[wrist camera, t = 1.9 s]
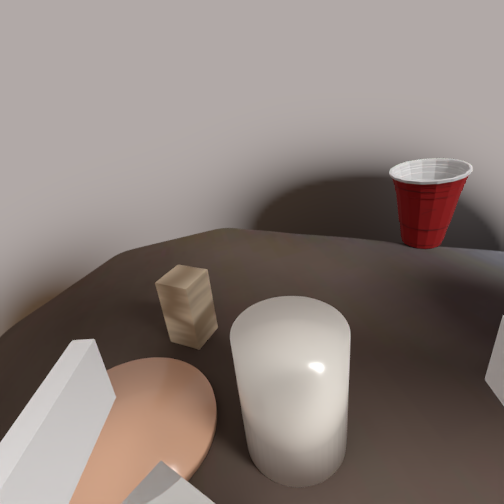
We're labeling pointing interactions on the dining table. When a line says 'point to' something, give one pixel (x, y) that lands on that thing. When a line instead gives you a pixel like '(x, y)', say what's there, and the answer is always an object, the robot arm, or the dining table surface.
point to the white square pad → (169, 490)
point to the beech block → (187, 305)
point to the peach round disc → (149, 430)
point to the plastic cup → (428, 198)
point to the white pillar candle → (293, 387)
